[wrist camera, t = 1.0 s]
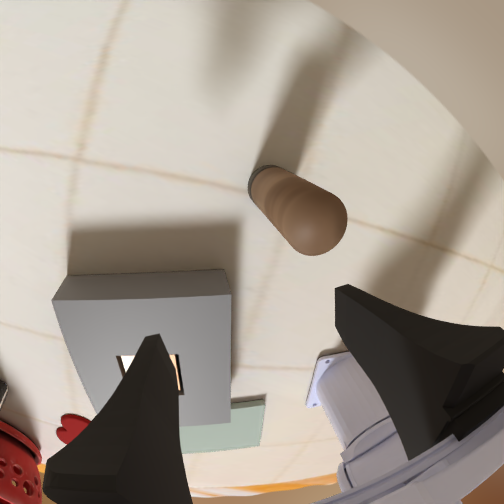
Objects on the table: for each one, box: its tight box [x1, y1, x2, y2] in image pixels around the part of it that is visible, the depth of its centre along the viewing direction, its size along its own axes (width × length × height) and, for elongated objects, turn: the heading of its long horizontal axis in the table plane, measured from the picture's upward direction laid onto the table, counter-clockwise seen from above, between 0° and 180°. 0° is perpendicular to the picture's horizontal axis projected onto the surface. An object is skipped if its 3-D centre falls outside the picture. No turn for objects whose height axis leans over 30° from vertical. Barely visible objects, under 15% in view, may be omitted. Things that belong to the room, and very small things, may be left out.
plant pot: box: [0, 421, 42, 504], centre depth 20 cm, size 13×13×12 cm
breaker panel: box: [52, 269, 231, 427], centre depth 22 cm, size 12×14×4 cm
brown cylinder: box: [248, 165, 347, 256], centre depth 17 cm, size 3×3×8 cm
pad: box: [179, 399, 265, 454], centre depth 29 cm, size 10×9×1 cm
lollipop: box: [56, 414, 91, 444], centre depth 29 cm, size 8×1×15 cm
